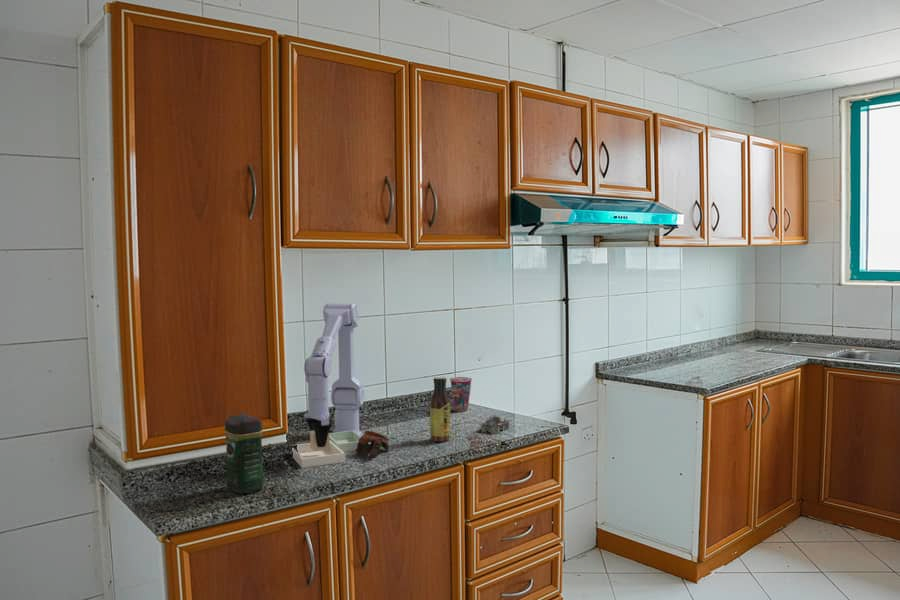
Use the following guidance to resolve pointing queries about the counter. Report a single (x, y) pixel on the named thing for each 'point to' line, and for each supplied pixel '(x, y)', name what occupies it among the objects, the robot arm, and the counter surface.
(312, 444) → the sandstone block
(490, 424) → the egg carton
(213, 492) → the counter surface
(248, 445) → the coffee jar
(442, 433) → the sauce bottle
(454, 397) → the cup
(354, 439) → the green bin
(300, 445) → the cream bin
